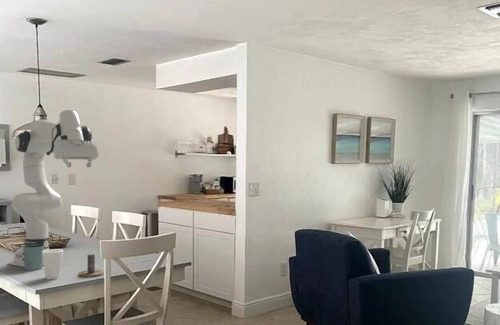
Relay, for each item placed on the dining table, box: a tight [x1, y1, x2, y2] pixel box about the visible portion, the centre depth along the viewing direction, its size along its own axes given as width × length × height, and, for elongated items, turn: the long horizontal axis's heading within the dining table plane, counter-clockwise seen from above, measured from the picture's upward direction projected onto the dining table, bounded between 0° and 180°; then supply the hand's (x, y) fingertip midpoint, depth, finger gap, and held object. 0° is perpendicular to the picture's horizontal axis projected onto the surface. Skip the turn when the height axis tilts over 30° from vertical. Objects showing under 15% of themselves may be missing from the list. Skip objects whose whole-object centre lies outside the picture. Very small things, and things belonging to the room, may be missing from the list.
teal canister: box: [22, 244, 44, 272], centre depth 254 cm, size 10×10×12 cm
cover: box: [77, 253, 105, 278], centre depth 242 cm, size 12×12×10 cm
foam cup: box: [42, 248, 64, 280], centre depth 235 cm, size 10×9×13 cm
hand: (79, 166), depth 224 cm, fingers open, 8 cm apart
